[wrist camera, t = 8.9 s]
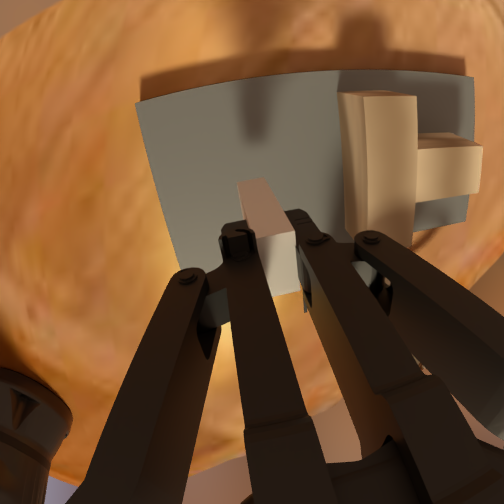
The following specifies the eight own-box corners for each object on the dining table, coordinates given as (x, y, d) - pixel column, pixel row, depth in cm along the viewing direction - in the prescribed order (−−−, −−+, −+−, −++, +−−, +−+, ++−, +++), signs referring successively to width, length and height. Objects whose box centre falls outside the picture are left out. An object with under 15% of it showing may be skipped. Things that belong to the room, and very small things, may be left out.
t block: (344, 228, 23) (366, 256, 20) (336, 92, 18) (363, 96, 15) (444, 210, 23) (472, 232, 20) (448, 92, 18) (484, 100, 15)
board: (184, 266, 25) (183, 277, 24) (140, 101, 18) (134, 103, 17) (456, 214, 25) (465, 221, 24) (462, 75, 19) (473, 77, 17)
